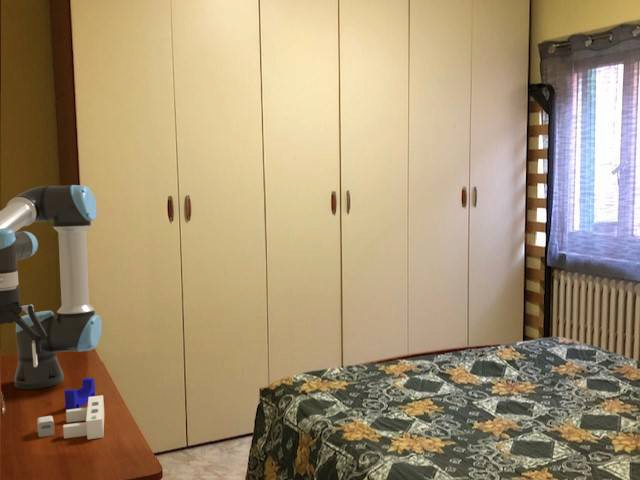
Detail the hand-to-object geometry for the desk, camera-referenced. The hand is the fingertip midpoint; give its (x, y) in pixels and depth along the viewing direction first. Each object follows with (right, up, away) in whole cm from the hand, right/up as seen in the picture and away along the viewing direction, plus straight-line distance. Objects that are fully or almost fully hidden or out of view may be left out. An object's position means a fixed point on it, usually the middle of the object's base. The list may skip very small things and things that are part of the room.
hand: (10, 368), depth 189 cm
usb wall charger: (+8, -18, +4) cm, 20 cm away
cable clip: (+9, -15, +26) cm, 32 cm away
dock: (+18, -17, +7) cm, 26 cm away
